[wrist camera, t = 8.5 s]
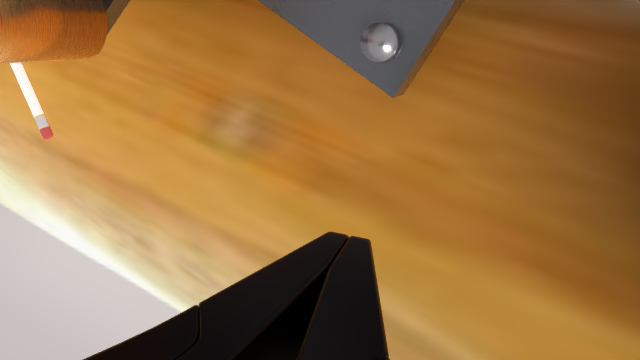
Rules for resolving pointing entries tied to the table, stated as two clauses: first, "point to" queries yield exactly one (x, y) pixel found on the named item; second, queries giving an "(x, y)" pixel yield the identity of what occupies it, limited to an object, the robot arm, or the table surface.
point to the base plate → (373, 33)
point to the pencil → (32, 100)
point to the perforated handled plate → (55, 28)
